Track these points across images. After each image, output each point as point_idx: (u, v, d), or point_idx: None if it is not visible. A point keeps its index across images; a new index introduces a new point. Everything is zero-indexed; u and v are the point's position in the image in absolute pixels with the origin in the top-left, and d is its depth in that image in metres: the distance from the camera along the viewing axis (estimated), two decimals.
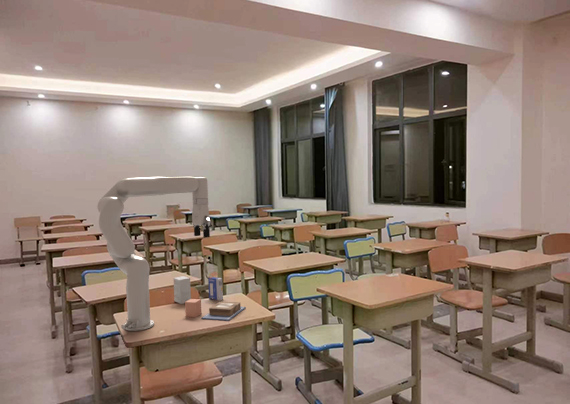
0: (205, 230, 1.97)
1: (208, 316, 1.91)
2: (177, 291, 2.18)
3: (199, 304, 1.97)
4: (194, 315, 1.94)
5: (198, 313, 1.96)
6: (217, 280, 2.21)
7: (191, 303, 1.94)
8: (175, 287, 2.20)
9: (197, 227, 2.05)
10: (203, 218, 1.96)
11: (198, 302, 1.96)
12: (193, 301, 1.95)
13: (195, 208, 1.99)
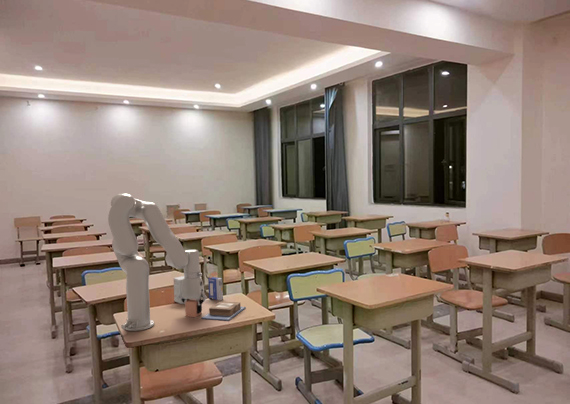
0: None
1: (208, 316, 1.91)
2: (177, 291, 2.18)
3: None
4: (194, 315, 1.94)
5: None
6: (217, 280, 2.21)
7: (191, 303, 1.94)
8: (175, 287, 2.20)
9: None
10: None
11: None
12: (193, 301, 1.95)
13: None
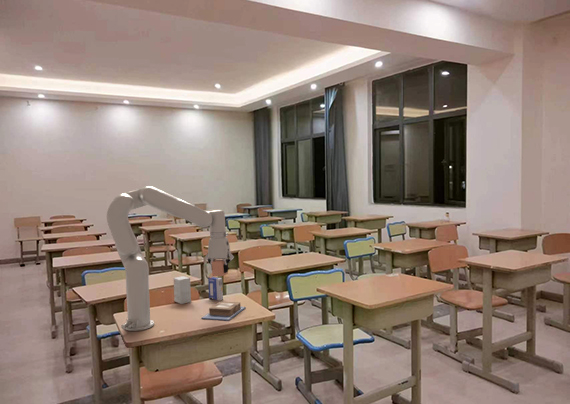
0: None
1: (208, 316, 1.91)
2: (177, 291, 2.18)
3: None
4: (221, 274, 1.95)
5: (225, 273, 1.97)
6: (217, 280, 2.21)
7: (218, 262, 1.95)
8: (175, 287, 2.20)
9: None
10: None
11: None
12: (219, 261, 1.96)
13: None
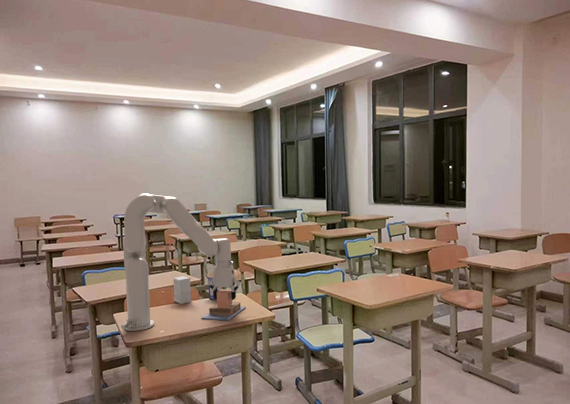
0: None
1: (208, 316, 1.91)
2: (177, 291, 2.18)
3: (230, 294, 1.98)
4: (226, 305, 1.95)
5: (229, 303, 1.97)
6: None
7: (223, 293, 1.95)
8: (175, 287, 2.20)
9: None
10: None
11: (229, 292, 1.98)
12: (224, 291, 1.97)
13: None
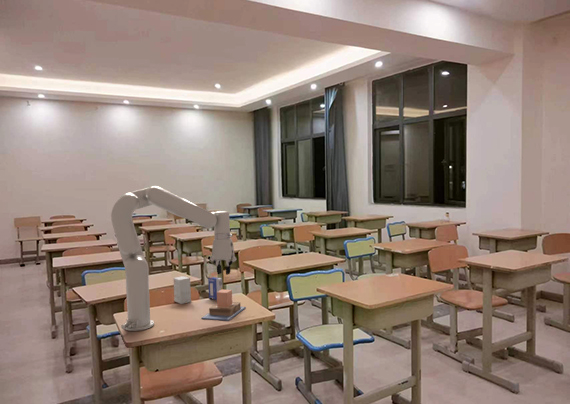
0: None
1: (208, 316, 1.91)
2: (177, 291, 2.18)
3: (230, 294, 1.98)
4: (226, 305, 1.95)
5: (229, 303, 1.97)
6: (217, 280, 2.21)
7: (223, 293, 1.95)
8: (175, 287, 2.20)
9: (227, 264, 1.97)
10: None
11: (229, 292, 1.98)
12: (224, 291, 1.97)
13: None
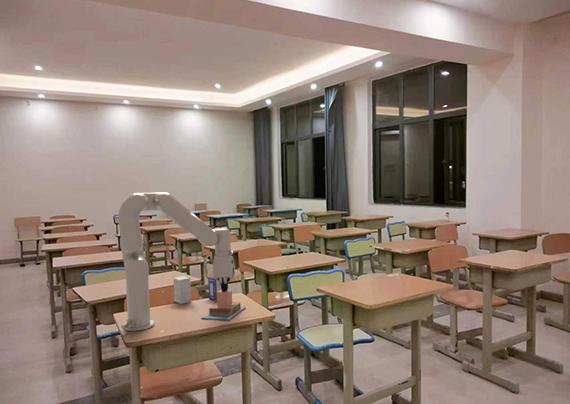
0: None
1: (208, 316, 1.91)
2: (177, 291, 2.18)
3: (230, 294, 1.98)
4: (226, 305, 1.95)
5: (229, 303, 1.97)
6: (217, 280, 2.21)
7: (223, 293, 1.95)
8: (175, 287, 2.20)
9: None
10: None
11: (229, 292, 1.98)
12: None
13: None
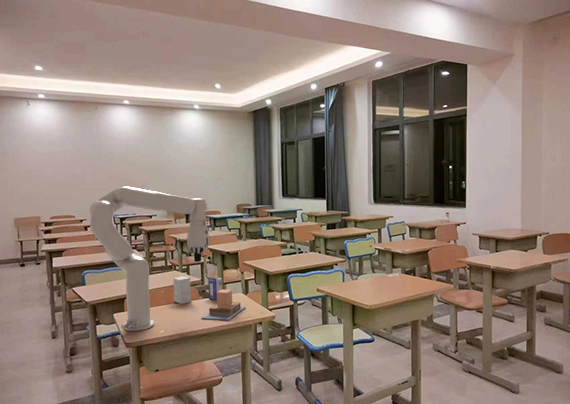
0: None
1: (208, 316, 1.91)
2: (177, 291, 2.18)
3: (230, 294, 1.98)
4: (226, 305, 1.95)
5: (229, 303, 1.97)
6: (217, 280, 2.21)
7: (223, 293, 1.95)
8: (175, 287, 2.20)
9: (198, 251, 1.97)
10: None
11: (229, 292, 1.98)
12: (224, 291, 1.97)
13: None
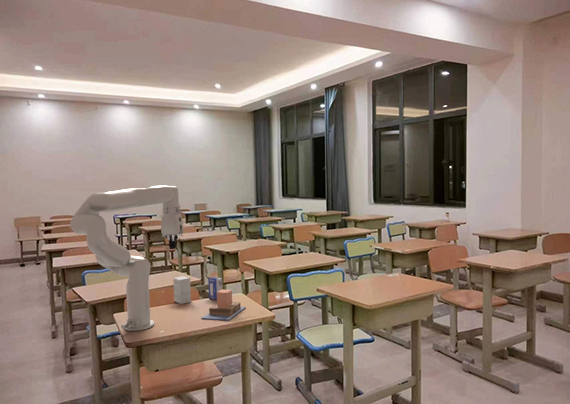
0: None
1: (208, 316, 1.91)
2: (177, 291, 2.18)
3: (230, 294, 1.98)
4: (226, 305, 1.95)
5: (229, 303, 1.97)
6: (217, 280, 2.21)
7: (223, 293, 1.95)
8: (175, 287, 2.20)
9: None
10: None
11: (229, 292, 1.98)
12: (224, 291, 1.97)
13: None
